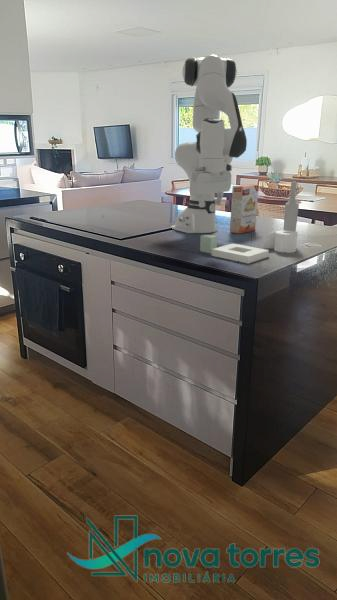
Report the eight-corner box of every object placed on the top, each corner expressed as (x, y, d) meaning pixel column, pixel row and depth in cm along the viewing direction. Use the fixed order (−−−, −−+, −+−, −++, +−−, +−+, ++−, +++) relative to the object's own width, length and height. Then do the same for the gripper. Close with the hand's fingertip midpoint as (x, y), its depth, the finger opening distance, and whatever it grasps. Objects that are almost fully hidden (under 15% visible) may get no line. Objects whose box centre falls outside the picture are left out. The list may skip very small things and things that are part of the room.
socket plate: (211, 255, 164) (211, 249, 163) (232, 249, 173) (232, 243, 172) (248, 263, 153) (248, 256, 153) (268, 256, 162) (268, 250, 161)
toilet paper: (263, 248, 175) (264, 231, 173) (290, 247, 177) (291, 230, 175) (271, 253, 167) (273, 235, 165) (299, 252, 170) (301, 234, 167)
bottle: (289, 247, 176) (295, 182, 168) (278, 245, 180) (284, 181, 172) (297, 246, 179) (304, 181, 171) (287, 243, 183) (293, 180, 175)
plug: (200, 251, 170) (200, 235, 168) (206, 249, 173) (207, 234, 171) (210, 253, 167) (210, 237, 165) (216, 251, 170) (217, 236, 168)
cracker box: (240, 234, 200) (243, 186, 193) (229, 232, 204) (231, 185, 197) (256, 230, 210) (259, 184, 203) (245, 228, 214) (247, 183, 207)
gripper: (200, 168, 150) (199, 209, 155) (234, 166, 165) (233, 204, 169) (185, 167, 154) (185, 207, 159) (221, 165, 169) (219, 202, 173)
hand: (210, 205), depth 164 cm, fingers open, 8 cm apart
